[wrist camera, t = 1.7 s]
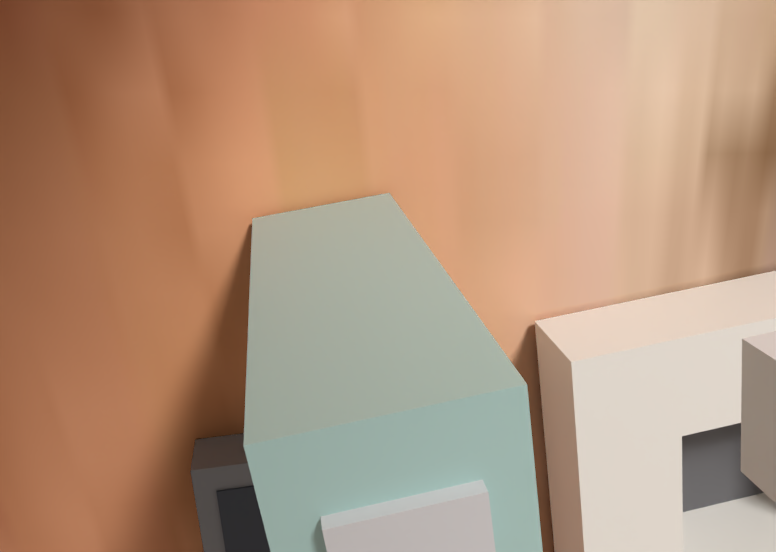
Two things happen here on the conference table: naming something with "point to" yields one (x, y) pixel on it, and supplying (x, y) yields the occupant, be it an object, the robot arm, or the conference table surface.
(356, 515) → the pale green block
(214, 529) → the phone
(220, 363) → the conference table surface
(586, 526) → the outlet board
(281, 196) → the conference table surface
